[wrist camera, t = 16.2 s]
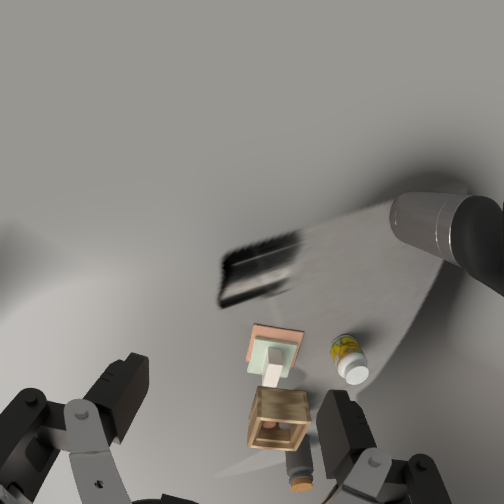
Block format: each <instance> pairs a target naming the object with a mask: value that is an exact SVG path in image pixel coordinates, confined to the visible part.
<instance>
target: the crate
mask: <svg viewBox="0 0 504 504" xmlns="http://www.w3.org/2000/svg"><path fill="white" fill-rule="evenodd" d="M311 422H312V421H311V416H310V410H309V405H308V400H307V395H306V391H296V390H286V389H278V388H270V387H263V386H258V387H257V391H256V394H255V398H254V401H253V405H252V408H251V412H250V415H249V423H248V424H249V425H248V439H247V447H252V448H260V449H271V450H284V451H296V450H297V448H298V447H299V445H300V443H301V441H302V439H303V437H304V436H305V434H306V432H307V430H308V428H309V426H310V424H311Z"/></svg>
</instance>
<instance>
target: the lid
mask: <svg viewBox="0 0 504 504" xmlns="http://www.w3.org/2000/svg"><path fill="white" fill-rule="evenodd" d="M296 348H297V343H295V342H288V341H281V340H275V339H269V338H263V337H257V336H255V339H254V343H253V347H252V352H251V356H250V360H249V365H248V369H247V372H250V373H256V374H262V386H267V387H274V388H276V386H277V383H278V380H279V377H284V378H287V376H288V373H289V369H290V367H291V363H292V360H293V357H294V354H295V351H296Z"/></svg>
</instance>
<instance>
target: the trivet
mask: <svg viewBox="0 0 504 504" xmlns="http://www.w3.org/2000/svg"><path fill="white" fill-rule="evenodd" d="M303 334H304V332H301V331H294V330H288V329H281V328H275V327H269V326H263V325H257V324H254V325H253V330H252V335H251V339H250V343H249V348H248V352H247V357H246V361H248V362H249V360H250V356H251V352H252V347H253V343H254V339H255V336H257V337H263V338H269V339H275V340H281V341H288V342H295V343H297V348H296V351H295V354H294V357H293V360H292V363H291V367H290V368H293V365H294V362H295V359H296V356H297V353H298V350H299V347H300V343H301V340H302V337H303Z"/></svg>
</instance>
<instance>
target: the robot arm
mask: <svg viewBox="0 0 504 504" xmlns="http://www.w3.org/2000/svg"><path fill="white" fill-rule="evenodd" d="M390 224H391V228H392V230H393V233H394V234H395V236H396V237H397V238H398V239H399V240H401V241H403V242H405V243H407V244H410V245H412V246H414V247H417V248H419V249H421V250H424V251H426V252H428V253H431V254H433V255H435V256H438V257H440V258H442V259H445V260H447V261H449V262H451V263H454V264H456V265H458V266H460V267H462V268H464V269H466V271H467V272H468V273H469V275H471V276H472V277H473V278H475V279H476V280H478V281H480V282H482V283H483V284H485V285H486V286H488V287H490V288H491V289H493V290H494V291H496V292H497V293H499V294H500V295H502V296H503V297H504V203H503V211H502V210H501V208H500V207H499V205H498V204H497V203H496V202H495V201H494V200H492V199H490V198H488V197H484V196H473V195H463V194H449V193H434V192H417V191H409V192H405V193H403V194H401V195H400V196H398V197H397V199H396V200H395V201H394V203H393V205H392V208H391V211H390ZM148 388H149V359H148V357H146V356H143V355H139V354H136V353H130V355H129V356H128V357H127V359H126V360H125V361H122V360H117V361H115V362H113V363H111V364H110V365H109V366H108V367H107V368H106V370H105V371H104V373H102V375H101V376H100V378H99V379H98V380H97V381H96V382H95V384H94V385H93V386H92V387H91V389H90V390H89V391H88V392H87V394H86V395H85V396H84V398H83V399H74V400H72V401H70V402H68V403H67V404H60V403H55V402H51V401H47V399H46V396H45V395H44V393H43V392H42V391H40V390H38V389H35V388H26V389H23V390H22V391H20V392H19V393H18V394H17V396H16V397H15V398H14V399H13V400H12V401H11V402H10V404H9V405H8V406H7V407H6V408H5V409H4V411H3V412H2V413H1V414H0V504H33V502H34V500H35V498H36V496H37V494H38V492H39V489H40V488H41V486H42V484H43V482H44V480H45V478H46V476H47V474H48V473H49V471H50V469H51V467H52V465H53V463H54V462H55V460H56V458H57V456H58V454H59V452H60V450H63V451H68V452H71V453H70V454H69V458H70V463H71V467H72V471H73V475H74V478H75V482H76V485H77V489H78V492H79V495H80V498H81V501H82V504H198V503H196V502H193V501H190V500H186V499H181V498H177V497H174V496H169V495H166V494H162V497H161V499H143V500H137V501H133V502H131V500H130V498H129V496H128V494H127V491H126V489H125V487H124V485H123V482H122V480H121V478H120V475H119V473H118V470H117V468H116V465H115V462H114V460H113V457H112V454H111V451H110V449H109V447H110V445H111V443H112V442H115V443H117V444H121V442H122V440H123V439H124V437H125V435H126V433H127V431H128V429H129V427H130V425H131V423H132V421H133V419H134V417H135V415H136V413H137V411H138V409H139V408H140V406H141V404H142V402H143V400H144V398H145V396H146V394H147V391H148ZM316 425H317V430H318V435H319V440H320V445H321V450H322V456H323V461H324V466H325V471H326V477H327V479H336V480H337V484H336V485H335V486H334V487H333V489H332V490H331V491H330V493H329V494H328V495H327V497H326V498H325V499H324V501H323V502H322V503H321V504H411V502H412V504H452V503H451V501H450V498H449V495H448V493H447V490H446V488H445V486H444V483H443V481H442V478H441V476H440V474H439V471H438V469H437V467H436V464H435V463H434V461H433V459H431V457H429V456H427V455H425V454H416V455H414V456H412V458H410V459H409V461H402V460H394V459H391V457H390V455H389V454H388V453H387V452H386V451H384V450H382V449H380V448H377V446H376V443H375V441H374V438H373V435H372V433H371V431H370V428H369V425H367V420H366V418H365V415H364V413H363V410H362V408H361V407H360V406H359V405H358V404H357V403H356V402H355V401H350V398H349V396H348V393H347V391H346V390H329V391H328V392H327V394H326V396H325V399H324V401H323V403H322V405H321V407H320V409H319V411H318V414H317V418H316ZM409 496H410V498H409ZM410 499H411V502H410Z"/></svg>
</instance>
